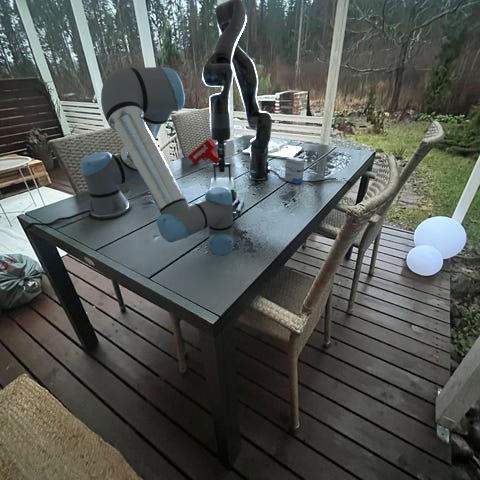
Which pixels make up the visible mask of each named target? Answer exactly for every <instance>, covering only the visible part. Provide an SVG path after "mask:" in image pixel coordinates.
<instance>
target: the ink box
mask: <svg viewBox="0 0 480 480" xmlns="http://www.w3.org/2000/svg"><path fill="white" fill-rule="evenodd" d="M305 162H306V159H304V158H299V157H296V156H294V157H289V158H287V159H286V158H285V169H284V178H285V180H284V181H285V182H289V183H293V184H295V185H298V184H300V183H303V182H302V180H304V173H305V171H304V170H305Z"/></svg>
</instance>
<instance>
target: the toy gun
mask: <svg viewBox="0 0 480 480" xmlns="http://www.w3.org/2000/svg"><path fill="white" fill-rule="evenodd" d="M215 149H216V143H215V142H214V140H213V139H211V138H208V139H206V140H205V141H204V142H203V143H201V144H200V145H199V146H198V147H197V148H196V149H194V151H192V152H191V153H190V154H188V159H189V160H190V161H191V162H192V163H193V164H197V163H198V162H200V161H201V160H202V161H204V162H205V161H207V160H209V161H211V162H212V163H213V164H219V163H218V157H217V152H215Z"/></svg>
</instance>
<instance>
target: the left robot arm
mask: <svg viewBox="0 0 480 480" xmlns="http://www.w3.org/2000/svg"><path fill="white" fill-rule="evenodd" d="M101 87H102V88H101V91H100V92H101V93H100V104H101V105H100V106H101V109H102V113H103V116H104V118H105V120H106V123H107V124H108V126H109V127H110V129H112V130H113V131H116V132H117V134H118V136H119V138H120V140H121V142H122V143H123V146H122V147H121V149H120V152H119V153H115V154H111V153H110V152H108V151H101V152H94V153H91V154H89V155H88V154H87V155H86V156H85V157H83V158H82V159H81V160H80V162H79V167H80V171H81V175H82V177H83V180H84V182H85V185H86V189H87V192H88V195H89V209H87V210H84V211H81V212H77V213H76V214H73V215H70V216H63V217H59V218H56V219H54V220H53V221H51V222H45V223H44V222H31V223H29V224H28V225H26V227H25V228H26V229H29V228H31V227H33V226H43V227H46V226H47V227H48V226H52V225H55V224H56V223H58V222H60V221H64V220H66V221H67V220H71V219H73V218H76V217H79V216H82V215H84V214H87V213H90V217H92V218H94V219H97V220H109V219H116V218H118V217H121V216H124V215H125V214H126V213H128V212H129V211H130V204H129V200H128V199H127V198H126V197H125V196H124V194H123V193H122V191H121V188H120V185H123V184H126V183H130V182H134V181H139V180H142V181H143V183H144V184H145V186H146V188H147V190H148V192H149V194H150V196H151V198H152V199H153V201H154V203H155V205H156V207H157V209H158V210H159V213H160V214H161V215H158V217H157V219H156V226H157V228H158V232H159V234H160V235H161V237H162V238H163V239H164V240H165V241H166V242H167V243H175V242H177V241H180V240H183V239H187V238H189V237H190V236H191V235H194V234H196V233H198V232H200V231H201V232H202V231H203V230H206V229H207V230H208V239H207V243H208V246H207V247H208V249H209V251H210V253H211V254H213V255H215V256H217V257H218V256H219V257H222V256H227V255H229V254H230V253H232V251H233V249H234V245H235V239H234V217H235V216H237V217H238V218H242V213H243V210H244V207H245V199H240V197H239V196H237V192H236V191H234V202H233V201H232V193H231V191H230V190H229V189H228V188H225V187H212V188H210V187H208V189H207V190H206V191H205V192H204V194H205V196H204V199H203V200H200V201H196V202H194V203H190V204H189V202H188V200H187V199H186V197H185V195H184V193H183V191H182V189H181V188H180V186H179V184H178V182H177V180H176V178H175V176H174V175H173V172H172V171H171V169H170V167H169V165H168V163H167V162H166V159H165V158H164V155H163V154H162V152H161V150H160V148H159V147H158V144H157V143H156V139H157V136H158V134H159V132H160V129H161V126H162V125H164V124H166V123H167V122H168V121H169V120H170V118H171V115H172V114H173V113H174V112H179V111H181V110H183V108H184V106H185V103H186V102H185V99H186V98H185V90H184V85H183V81H182V80H181V78H180V76H179V74H178V73H177V71H175V70H174V69H173V68H170V67H165V66H164V67H163V66H151V67H150V66H147V67H119V68H116V69H115V70H113V71H112V72H110V73H109V74H108V75H107V76H106V78H105V79H104V81H103V84H102V86H101ZM234 210H235V212H233V211H234Z"/></svg>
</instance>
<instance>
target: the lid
mask: <svg viewBox="0 0 480 480" xmlns="http://www.w3.org/2000/svg"><path fill="white" fill-rule="evenodd" d="M224 165H225V168H228V176H227V177H217V172H216V170H217V169H216V168H219V164H215V163H213V164H212V168H213V177H211V179H210V180H211V181H210V187H209V188H212V187H225V188H228V189H229V190H230V191H231V192H235V180H234V179H235V178H234V177H232V173H231V171H232V169H231V168H232V164H231V163H225V164H224Z"/></svg>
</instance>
